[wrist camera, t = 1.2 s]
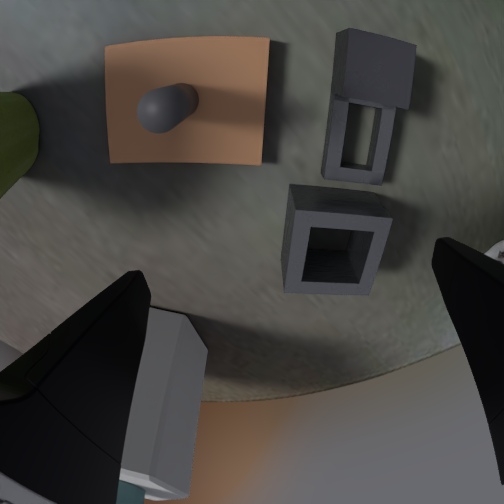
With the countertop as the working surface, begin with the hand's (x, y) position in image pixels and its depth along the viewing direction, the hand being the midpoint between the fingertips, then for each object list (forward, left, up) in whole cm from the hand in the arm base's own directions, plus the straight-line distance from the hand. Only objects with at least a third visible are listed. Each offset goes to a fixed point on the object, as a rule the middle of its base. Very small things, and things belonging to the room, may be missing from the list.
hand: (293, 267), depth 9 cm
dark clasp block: (-5, -3, -13) cm, 14 cm away
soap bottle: (+10, +19, -13) cm, 25 cm away
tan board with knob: (+6, -3, -13) cm, 14 cm away
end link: (-4, +5, -13) cm, 14 cm away
